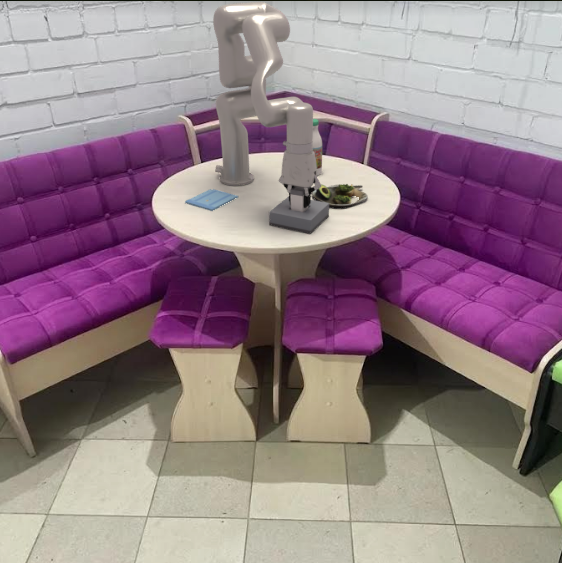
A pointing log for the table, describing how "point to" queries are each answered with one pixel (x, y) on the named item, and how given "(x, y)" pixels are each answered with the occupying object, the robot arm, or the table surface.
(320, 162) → the milk bottle
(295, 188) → the block
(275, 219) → the block
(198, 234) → the table surface
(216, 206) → the blue striped cloth
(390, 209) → the table surface
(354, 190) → the salad plate
